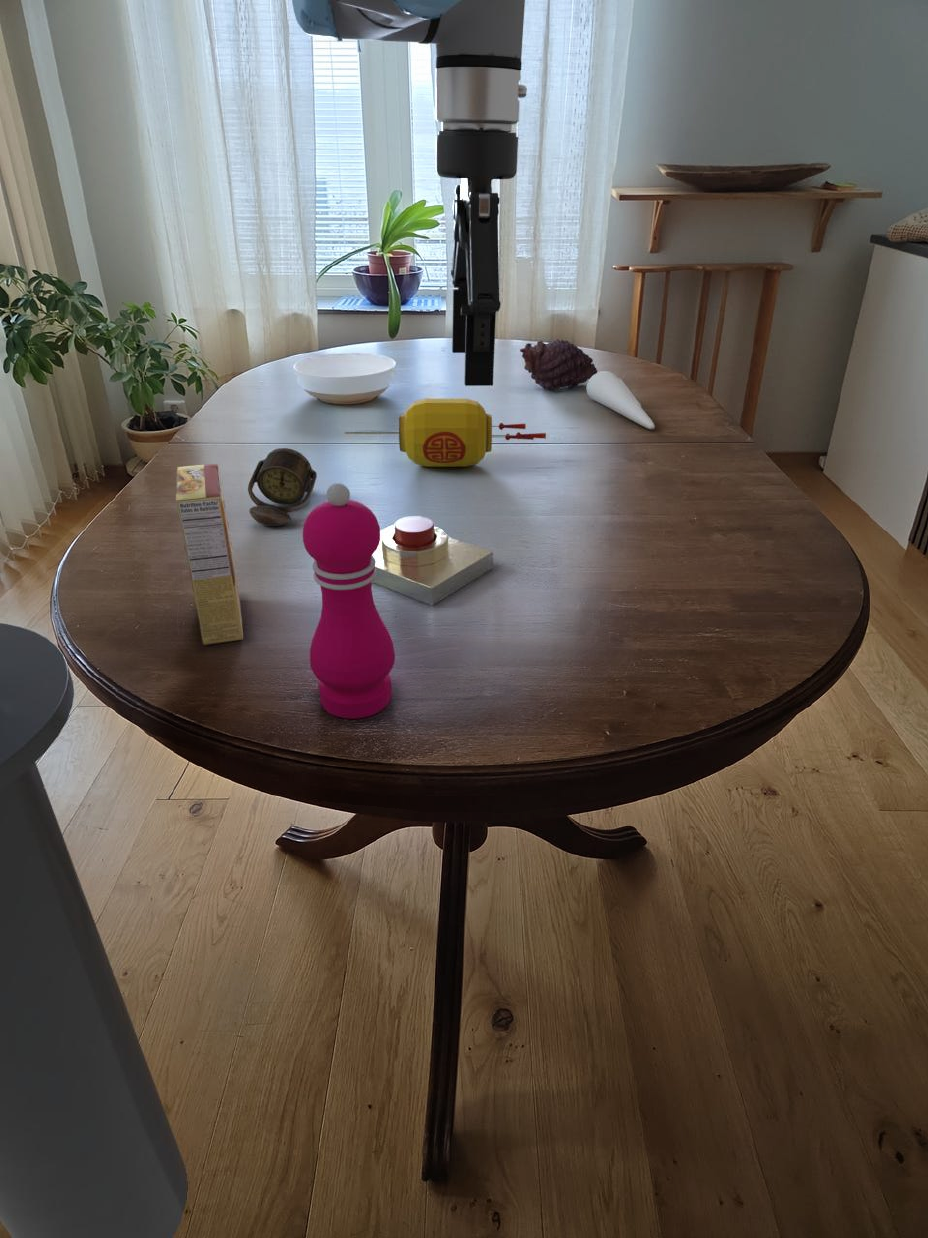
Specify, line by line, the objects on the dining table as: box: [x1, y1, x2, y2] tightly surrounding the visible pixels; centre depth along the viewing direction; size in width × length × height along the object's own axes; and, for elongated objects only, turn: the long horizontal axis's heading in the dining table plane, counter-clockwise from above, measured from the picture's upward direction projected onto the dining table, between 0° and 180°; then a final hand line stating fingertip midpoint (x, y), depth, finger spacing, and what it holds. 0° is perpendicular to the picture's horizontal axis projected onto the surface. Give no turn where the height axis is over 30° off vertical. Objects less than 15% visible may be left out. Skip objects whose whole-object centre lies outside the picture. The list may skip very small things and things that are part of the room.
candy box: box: [175, 463, 244, 646], centre depth 77 cm, size 9×4×15 cm, turn 17°
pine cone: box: [519, 339, 598, 391], centre depth 157 cm, size 18×10×10 cm
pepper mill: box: [302, 482, 396, 720], centre depth 64 cm, size 7×7×20 cm
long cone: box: [585, 370, 656, 431], centre depth 141 cm, size 6×6×19 cm
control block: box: [372, 523, 494, 607], centre depth 90 cm, size 14×11×4 cm
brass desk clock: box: [247, 447, 318, 527], centre depth 104 cm, size 7×13×10 cm
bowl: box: [292, 352, 397, 405], centre depth 151 cm, size 20×20×6 cm
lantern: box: [344, 398, 547, 468], centre depth 118 cm, size 10×10×30 cm
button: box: [394, 515, 435, 547], centre depth 88 cm, size 4×4×2 cm
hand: (471, 367), depth 82 cm, fingers open, 13 cm apart
